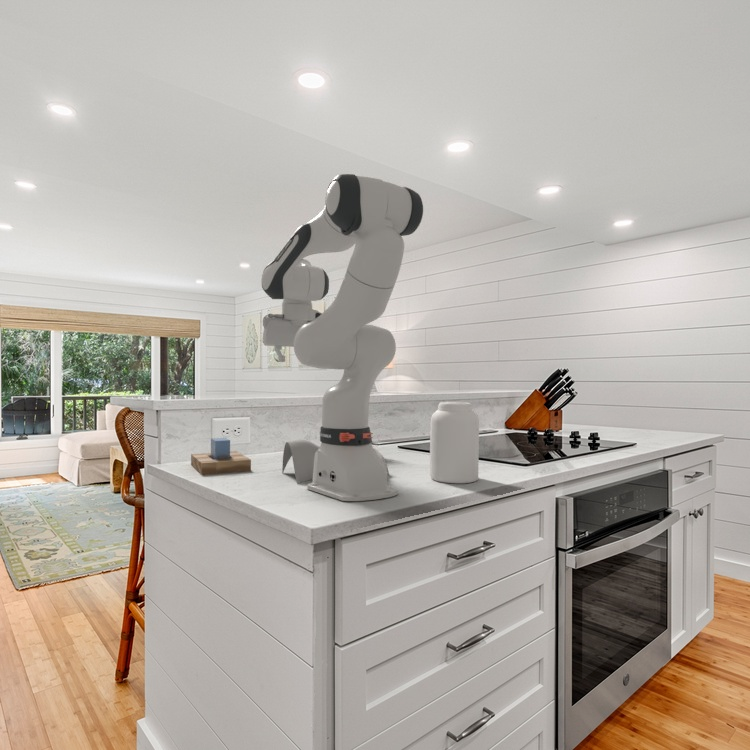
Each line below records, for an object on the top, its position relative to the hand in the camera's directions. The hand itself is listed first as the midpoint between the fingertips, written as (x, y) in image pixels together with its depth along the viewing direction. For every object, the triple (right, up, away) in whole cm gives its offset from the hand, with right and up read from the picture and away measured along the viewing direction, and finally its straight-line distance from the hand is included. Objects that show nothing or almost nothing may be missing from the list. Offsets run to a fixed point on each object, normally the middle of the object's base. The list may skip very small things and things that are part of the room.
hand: (297, 362), depth 152 cm
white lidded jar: (+44, -31, -19) cm, 57 cm away
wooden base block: (-20, -30, -7) cm, 37 cm away
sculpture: (+12, -31, -14) cm, 36 cm away
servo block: (-21, -30, -7) cm, 37 cm away
